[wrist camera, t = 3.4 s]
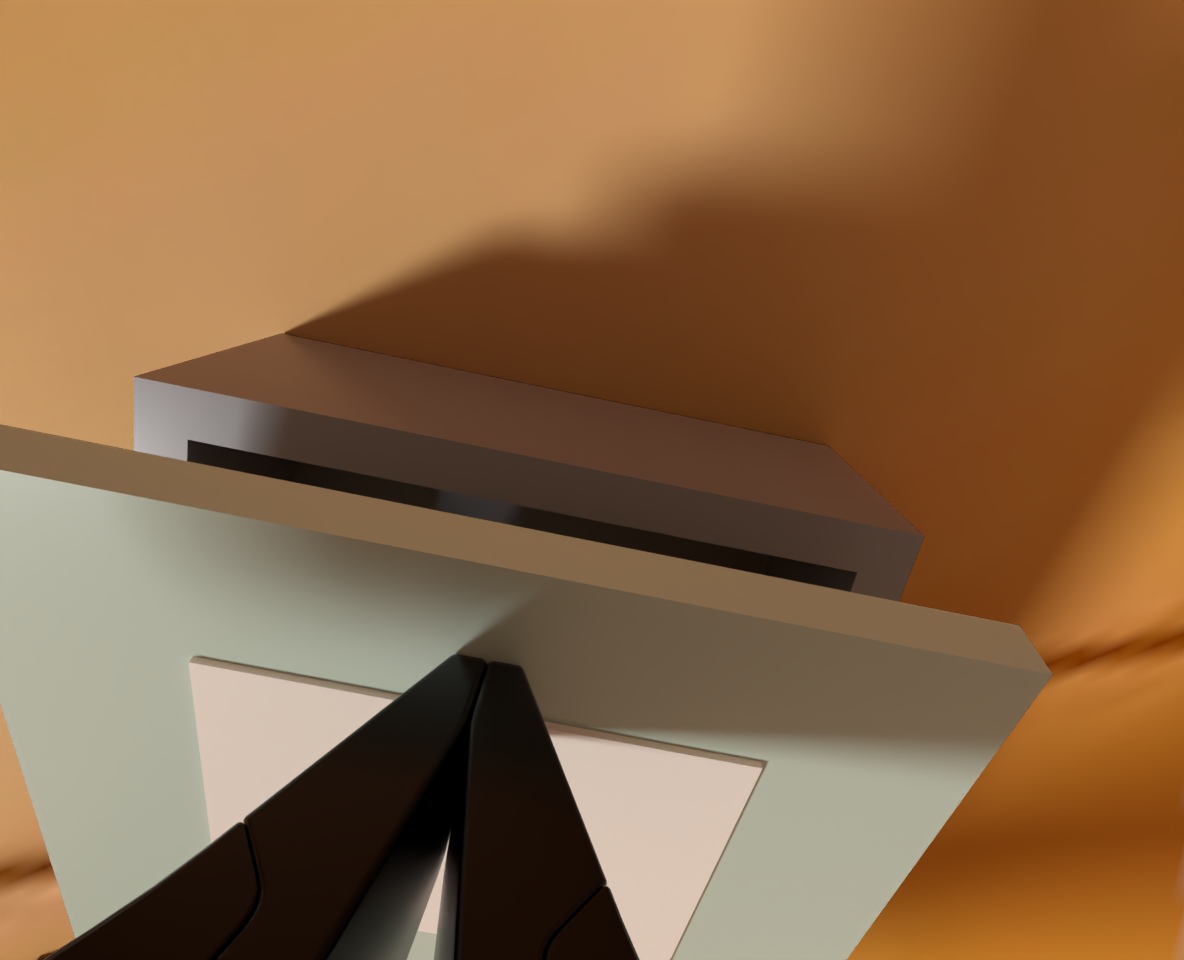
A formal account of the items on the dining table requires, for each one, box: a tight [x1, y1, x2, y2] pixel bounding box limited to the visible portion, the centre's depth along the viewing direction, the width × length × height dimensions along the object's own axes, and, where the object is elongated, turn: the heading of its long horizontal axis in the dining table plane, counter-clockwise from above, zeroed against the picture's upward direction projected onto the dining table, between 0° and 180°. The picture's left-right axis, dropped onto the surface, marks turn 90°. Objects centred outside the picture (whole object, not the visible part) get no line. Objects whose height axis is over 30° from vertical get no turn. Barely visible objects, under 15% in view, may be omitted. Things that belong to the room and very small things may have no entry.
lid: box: [0, 424, 1053, 960], centre depth 11 cm, size 12×12×1 cm
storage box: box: [134, 333, 924, 602], centre depth 15 cm, size 12×12×5 cm
